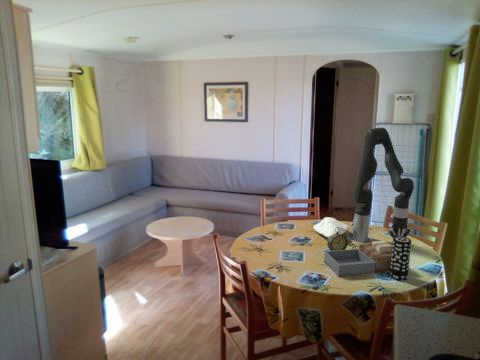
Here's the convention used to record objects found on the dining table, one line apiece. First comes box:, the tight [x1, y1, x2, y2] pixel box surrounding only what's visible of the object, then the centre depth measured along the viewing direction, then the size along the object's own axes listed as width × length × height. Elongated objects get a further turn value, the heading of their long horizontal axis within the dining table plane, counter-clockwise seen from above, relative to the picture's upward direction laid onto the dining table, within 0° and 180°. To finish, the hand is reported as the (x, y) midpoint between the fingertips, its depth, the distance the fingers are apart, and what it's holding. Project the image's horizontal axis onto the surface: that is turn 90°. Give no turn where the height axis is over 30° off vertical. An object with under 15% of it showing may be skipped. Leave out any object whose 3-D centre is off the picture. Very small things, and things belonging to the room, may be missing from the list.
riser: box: [358, 242, 392, 274], centre depth 195 cm, size 18×14×9 cm
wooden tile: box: [371, 240, 392, 252], centre depth 194 cm, size 7×7×3 cm
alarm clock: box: [326, 227, 348, 251], centre depth 209 cm, size 11×5×16 cm, turn 105°
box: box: [323, 248, 376, 278], centre depth 192 cm, size 18×20×6 cm
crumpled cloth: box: [313, 216, 351, 239], centre depth 241 cm, size 24×35×9 cm
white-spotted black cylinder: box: [389, 236, 412, 282], centre depth 180 cm, size 8×8×20 cm
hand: (397, 245), depth 196 cm, fingers closed
